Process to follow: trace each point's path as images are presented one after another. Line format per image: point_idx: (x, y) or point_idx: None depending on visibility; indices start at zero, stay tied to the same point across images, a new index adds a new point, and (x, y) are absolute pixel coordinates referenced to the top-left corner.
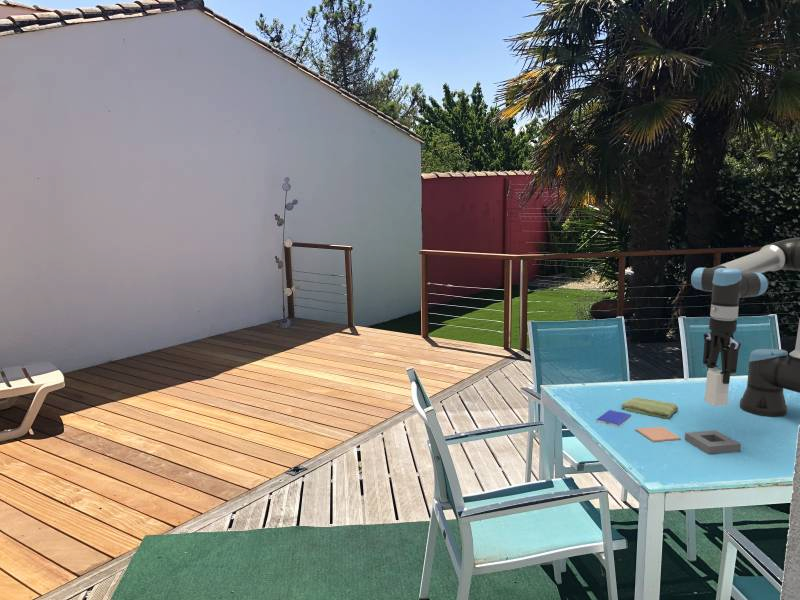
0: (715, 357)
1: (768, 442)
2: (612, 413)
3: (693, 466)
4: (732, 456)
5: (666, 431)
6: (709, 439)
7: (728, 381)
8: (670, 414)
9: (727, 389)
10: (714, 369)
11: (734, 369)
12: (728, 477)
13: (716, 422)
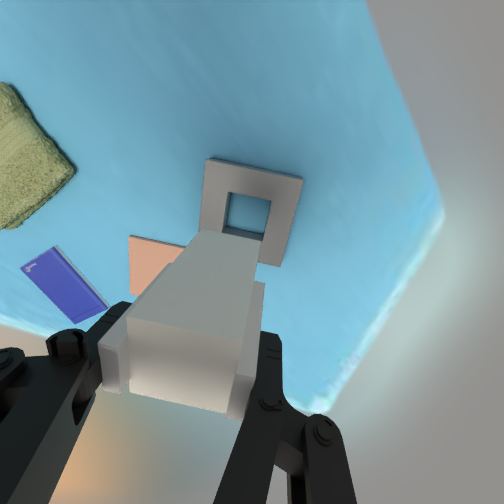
0: (32, 490)
1: (298, 20)
2: (44, 280)
3: (305, 322)
4: (312, 221)
5: (157, 250)
6: (228, 200)
7: (280, 354)
8: (63, 165)
9: (263, 295)
10: (123, 360)
11: (341, 478)
12: (369, 308)
13: (115, 39)
